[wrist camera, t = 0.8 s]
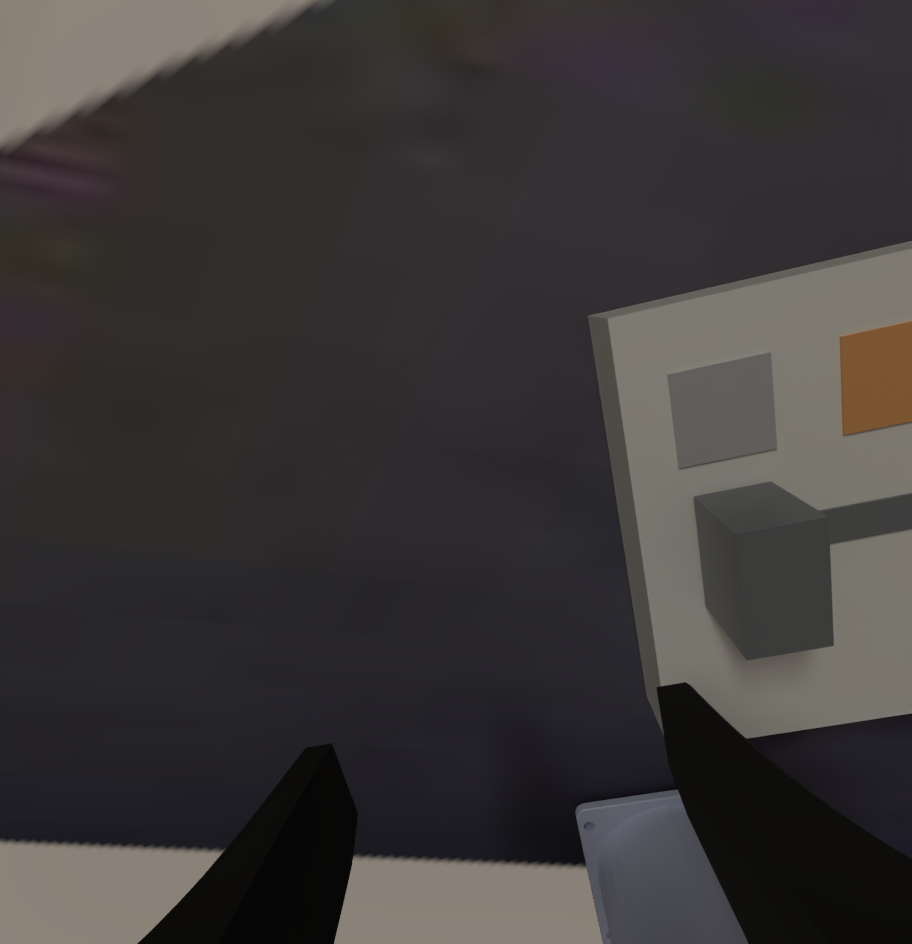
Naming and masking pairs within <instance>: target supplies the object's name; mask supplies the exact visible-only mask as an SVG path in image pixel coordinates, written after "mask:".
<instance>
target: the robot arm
mask: <svg viewBox="0 0 912 944" xmlns="http://www.w3.org/2000/svg"><path fill="white" fill-rule="evenodd" d="M656 689H657V695H658V701H659V707H660V713H661V720H662V726H663V732H664V738H665V744H666V751H667V757H668V763H669V766H670V769H671V772H672V775H673V778H674V780H675V783H676V786H677V790H670V791H663V792H657V793H650V794H643V795H636V796H629V797H622V798H616V799H609V800H602V801H595V802H588V803H583V804H580V805H579V806H578V807H577V808H576V810H575V814H576V819H577V824H578V828H579V833H580V838H581V842H582V847H583V852H584V857H585V861H586V866H587V871H588V875H589V880H590V884H591V889H592V893H593V899H594V903H595V907H596V912H597V917H598V922H599V926H600V931H601V936H602V941H603V944H912V859H911V858H909V857H907V856H906V855H904V854H902V853H901V852H899V851H897V850H896V849H894V848H893V847H891V846H889V845H888V844H886V843H885V842H883V841H882V840H880V839H879V838H877V837H876V836H874V835H872V834H871V833H869V832H868V831H866V830H865V829H863V828H862V827H860V826H859V825H857V824H856V823H854V822H853V821H852V820H850V819H849V818H847V817H846V816H844V815H843V814H841V813H840V812H838V811H837V810H836V809H834V808H833V807H831V806H830V805H829V804H827V803H826V802H824V801H823V800H822V799H820V798H819V797H818V796H816V795H815V794H814V793H812V792H811V791H810V790H808V789H807V788H806V787H805V786H803V785H802V784H801V783H799V782H798V781H797V780H796V779H794V778H793V777H792V776H790V775H789V774H788V773H787V772H785V771H784V770H783V769H782V768H780V767H779V766H778V765H777V764H776V763H774V762H773V761H772V760H771V759H769V758H768V757H767V756H766V755H765V754H764V753H762V752H761V751H760V750H759V749H758V748H757V747H756V746H754V745H753V744H752V743H751V742H750V741H749V740H747V739H746V738H745V737H744V736H743V735H742V734H741V733H739V732H738V731H737V730H736V729H735V728H734V727H733V726H732V725H731V724H730V723H729V722H727V721H726V720H725V719H724V718H723V717H722V716H721V715H720V714H719V713H718V712H717V711H716V710H715V709H714V708H713V707H712V706H711V705H710V704H709V703H708V702H707V701H706V700H705V699H704V698H703V697H702V696H701V695H700V694H699V693H698V692H697V691H696V690H695V689H694V688H693V687H692V686H691V685H689V684H688V683H686V682H684V683H678V684H672V685H666V686H661V687H656ZM357 816H358V813H357V810H356V807H355V805H354V802H353V799H352V797H351V794H350V791H349V788H348V786H347V783H346V780H345V778H344V775H343V772H342V769H341V767H340V764H339V761H338V759H337V756H336V753H335V751H334V748H333V745H332V743H331V744H325V745H320V746H314V747H308V748H306V749H305V750H304V751H303V752H302V754H301V755H300V756H299V757H298V759H297V760H296V761H295V762H294V764H293V765H292V766H291V768H290V769H289V770H288V771H287V773H286V774H285V775H284V777H283V778H282V779H281V781H280V782H279V783H278V785H277V786H276V787H275V788H274V790H273V791H272V792H271V794H270V795H269V796H268V798H267V799H266V800H265V801H264V803H263V804H262V805H261V806H260V808H259V809H258V810H257V812H256V813H255V814H254V815H253V817H252V818H251V819H250V820H249V822H248V823H247V824H246V826H245V827H244V828H243V829H242V831H241V832H240V833H239V834H238V835H237V837H236V838H235V839H234V840H233V841H232V842H231V844H230V845H229V846H228V847H227V848H226V850H225V851H224V852H223V853H222V854H221V855H220V857H219V858H218V859H217V860H216V861H215V863H214V864H213V865H212V866H211V867H210V868H209V870H208V871H207V872H206V873H205V875H204V876H203V877H202V878H201V879H200V880H199V881H198V882H197V883H196V885H195V886H194V887H193V888H192V889H191V890H190V891H189V892H188V893H187V894H186V895H185V896H184V897H183V899H182V900H181V901H180V902H179V903H178V904H177V905H176V906H175V907H174V908H173V909H172V910H171V911H170V912H169V913H168V914H167V915H166V916H165V917H164V918H163V919H162V920H161V921H160V922H159V924H157V925H156V926H155V927H154V929H152V931H150V932H149V933H148V934H147V935H146V936H145V937H144V938H143V939H142V940H141V941H140V942H139V943H138V944H334V940H335V936H336V932H337V927H338V923H339V919H340V915H341V910H342V906H343V902H344V897H345V893H346V889H347V884H348V880H349V875H350V870H351V866H352V859H353V852H354V844H355V835H356V825H357ZM588 822H591V823H588Z"/></svg>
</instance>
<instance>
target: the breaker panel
mask: <svg viewBox="0 0 912 944" xmlns="http://www.w3.org/2000/svg"><path fill="white" fill-rule="evenodd" d="M588 320H589V326H590V333H591V339H592V346H593V352H594V359H595V365H596V371H597V378H598V384H599V391H600V397H601V404H602V410H603V417H604V423H605V430H606V436H607V443H608V449H609V455H610V462H611V468H612V475H613V481H614V488H615V494H616V501H617V507H618V514H619V520H620V527H621V533H622V539H623V546H624V552H625V559H626V565H627V572H628V578H629V585H630V591H631V598H632V604H633V611H634V617H635V623H636V630H637V636H638V643H639V649H640V656H641V662H642V669H643V675H644V682H645V688H646V695H647V698H648V700H649V702H650V705H651V707H652V709H653V712H654V714H655V716H656V719H657V721H658V723H659V726H660V728H661V730H662V732H663V726H662V720H661V713H660V707H659V701H658V695H657V689H656V687H661V686H666V685H672V684H678V683H684V682H686V683H688V684H689V685H691V686H692V687H693V688H694V689H695V690H696V691H697V692H698V693H699V694H700V695H701V696H702V697H703V698H704V699H705V700H706V701H707V702H708V703H709V704H710V705H711V706H712V707H713V708H714V709H715V710H716V711H717V712H718V713H719V714H720V715H721V716H722V717H723V718H724V719H725V720H726V721H727V722H729V723H730V724H731V725H732V726H733V727H734V728H735V729H736V730H737V731H738V732H739V733H741V734H742V735H743V736H744V737H745V738H746V739H747V738H754V737H760V736H767V735H773V734H780V733H786V732H793V731H799V730H806V729H812V728H819V727H825V726H832V725H839V724H845V723H852V722H858V721H865V720H871V719H878V718H884V717H891V716H897V715H904V714H910V713H912V241H909V242H905V243H901V244H896V245H892V246H888V247H883V248H879V249H875V250H870V251H866V252H862V253H858V254H853V255H849V256H845V257H840V258H836V259H832V260H827V261H823V262H819V263H814V264H810V265H806V266H801V267H797V268H793V269H788V270H784V271H780V272H775V273H771V274H767V275H762V276H758V277H754V278H749V279H745V280H741V281H736V282H732V283H728V284H723V285H719V286H715V287H711V288H706V289H702V290H698V291H693V292H689V293H685V294H680V295H676V296H672V297H667V298H663V299H659V300H654V301H650V302H646V303H641V304H637V305H633V306H628V307H624V308H620V309H615V310H611V311H607V312H602V313H598V314H594V315H589V316H588ZM770 481H771V482H773V483H774V484H776V485H778V486H779V487H781V488H783V489H784V490H786V491H788V492H789V493H791V494H792V495H794V496H796V497H797V498H799V499H801V500H802V501H804V502H805V503H807V504H809V505H810V506H812V507H814V508H815V509H817V510H818V511H820V512H822V513H823V514H825V515H827V516H828V517H829V532H830V558H831V584H832V609H833V635H834V646H831V647H825V648H819V649H813V650H807V651H801V652H795V653H789V654H783V655H777V656H771V657H765V658H759V659H753V660H746V659H745V657H744V656H743V655H742V653H741V652H740V651H739V649H738V648H737V647H736V645H735V644H734V643H733V641H732V640H731V639H730V637H729V636H728V635H727V633H726V632H725V631H724V629H723V628H722V627H721V625H720V624H719V623H718V621H717V620H716V619H715V618H714V616H713V615H712V614H711V612H710V611H709V610H708V608H707V607H706V605H705V596H704V587H703V578H702V569H701V560H700V551H699V543H698V534H697V525H696V516H695V507H694V498H693V497H694V496H699V495H704V494H709V493H714V492H719V491H725V490H730V489H735V488H740V487H745V486H750V485H755V484H760V483H765V482H770ZM663 735H664V732H663Z"/></svg>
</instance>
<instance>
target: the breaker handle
mask: <svg viewBox="0 0 912 944" xmlns="http://www.w3.org/2000/svg"><path fill="white" fill-rule="evenodd" d="M693 498H694V507H695V516H696V525H697V534H698V543H699V551H700V560H701V569H702V578H703V587H704V596H705V605H706V607H707V608H708V610H709V611H710V612H711V614H712V615H713V616H714V618H715V619H716V620H717V621H718V623H719V624H720V625H721V627H722V628H723V629H724V631H725V632H726V633H727V635H728V636H729V637H730V639H731V640H732V641H733V643H734V644H735V645H736V647H737V648H738V649H739V651H740V652H741V653H742V655H743V656H744V657H745V659H746V660H753V659H759V658H765V657H771V656H777V655H783V654H789V653H795V652H801V651H807V650H813V649H819V648H825V647H831V646H834V635H833V609H832V584H831V558H830V532H829V517H828V516H827V515H825V514H823V513H822V512H820V511H818V510H817V509H815V508H814V507H812V506H810V505H809V504H807V503H805V502H804V501H802V500H801V499H799V498H797V497H796V496H794V495H792V494H791V493H789V492H788V491H786V490H784V489H783V488H781V487H779V486H778V485H776V484H774V483H773V482H771V481H770V482H765V483H760V484H755V485H750V486H745V487H740V488H735V489H730V490H725V491H719V492H714V493H709V494H704V495H699V496H694V497H693Z"/></svg>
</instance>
